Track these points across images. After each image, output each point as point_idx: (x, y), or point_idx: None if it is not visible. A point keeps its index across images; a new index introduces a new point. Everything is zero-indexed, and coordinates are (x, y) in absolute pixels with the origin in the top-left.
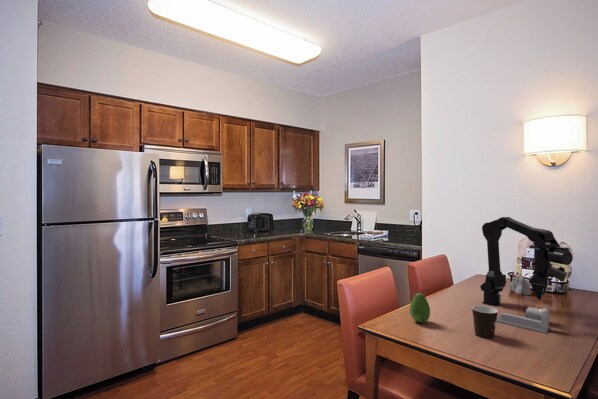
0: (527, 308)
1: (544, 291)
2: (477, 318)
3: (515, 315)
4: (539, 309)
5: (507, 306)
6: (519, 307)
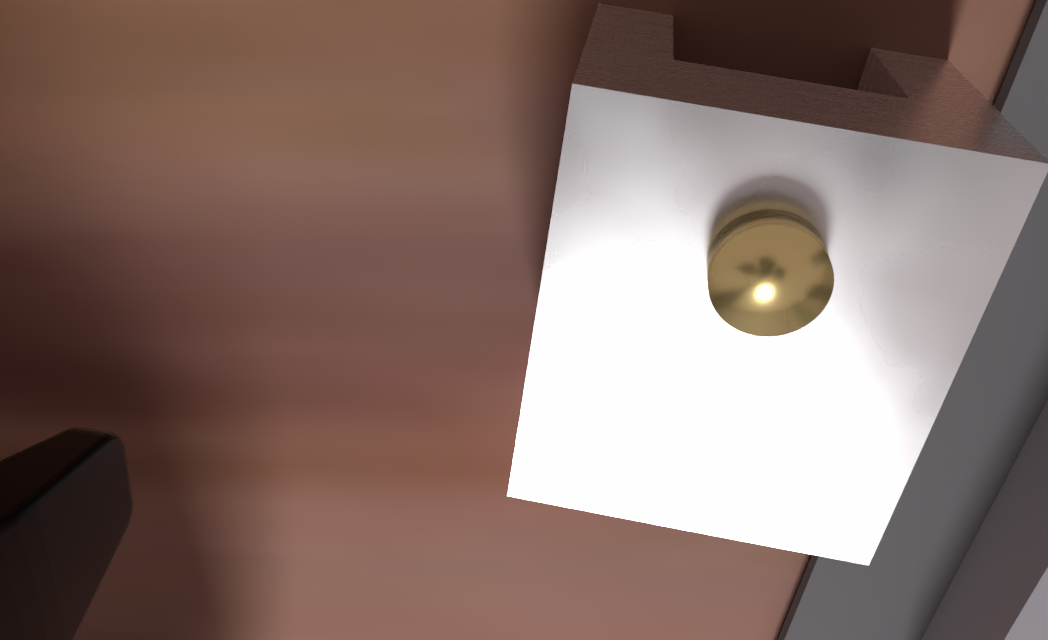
0: (702, 531)
1: (21, 543)
2: None
3: (1012, 635)
4: (775, 332)
5: (116, 593)
6: (8, 454)
